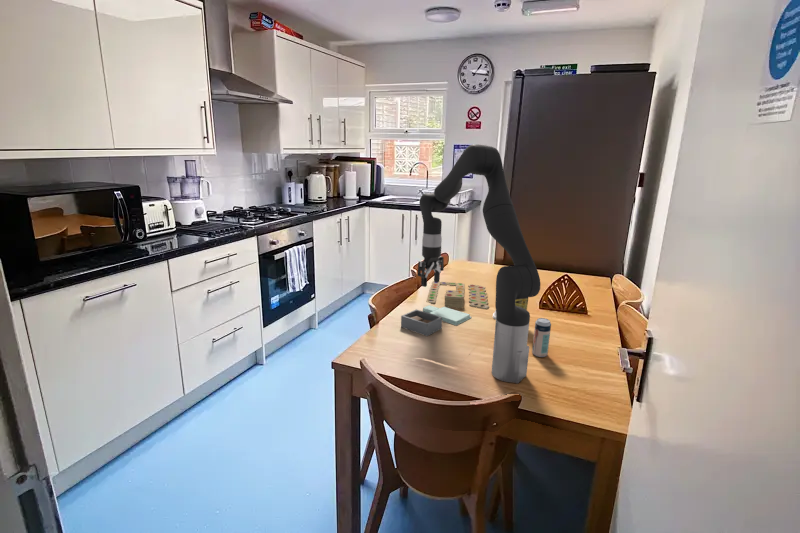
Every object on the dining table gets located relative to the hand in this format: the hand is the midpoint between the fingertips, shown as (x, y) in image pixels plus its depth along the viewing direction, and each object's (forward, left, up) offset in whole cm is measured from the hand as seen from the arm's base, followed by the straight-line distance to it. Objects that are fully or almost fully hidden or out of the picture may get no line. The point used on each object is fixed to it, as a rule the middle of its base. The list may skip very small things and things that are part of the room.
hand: (430, 284), depth 167 cm
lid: (-7, 0, -12) cm, 14 cm away
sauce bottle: (-33, -11, -12) cm, 37 cm away
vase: (-25, -15, -12) cm, 32 cm away
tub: (-8, +16, -12) cm, 21 cm away
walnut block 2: (-10, +16, -12) cm, 22 cm away
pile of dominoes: (+4, -27, -13) cm, 30 cm away
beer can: (-49, +6, -12) cm, 51 cm away
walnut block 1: (-5, +16, -12) cm, 20 cm away
